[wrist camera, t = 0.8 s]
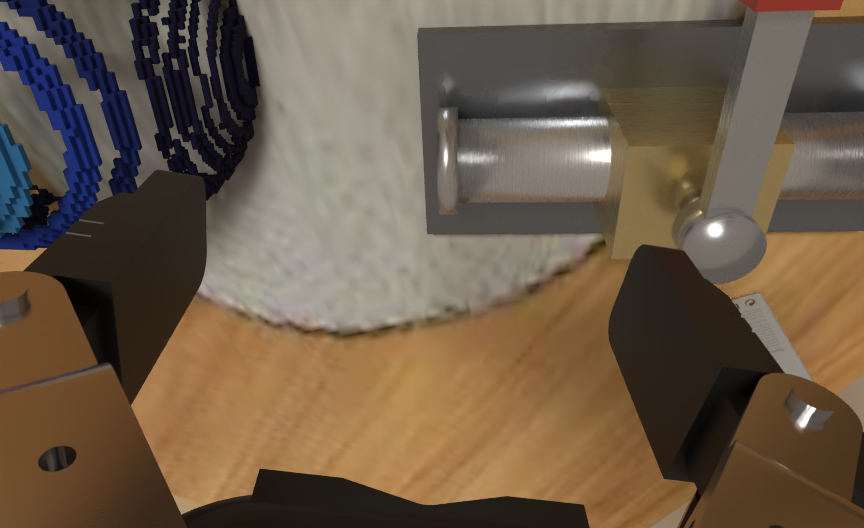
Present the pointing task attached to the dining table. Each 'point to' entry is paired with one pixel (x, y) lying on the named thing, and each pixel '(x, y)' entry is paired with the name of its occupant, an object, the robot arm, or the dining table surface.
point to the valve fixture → (626, 128)
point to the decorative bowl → (121, 111)
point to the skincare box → (771, 333)
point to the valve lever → (746, 140)
